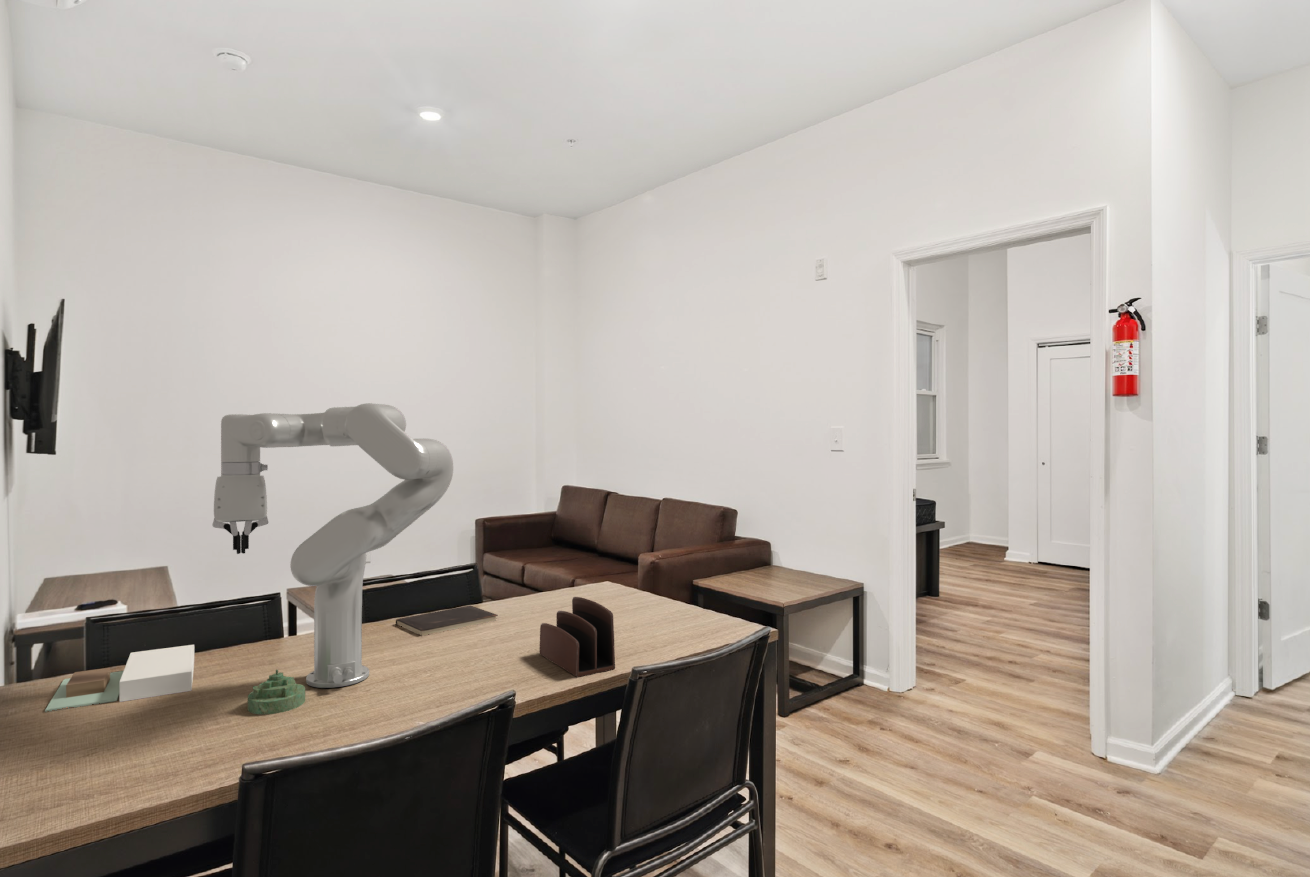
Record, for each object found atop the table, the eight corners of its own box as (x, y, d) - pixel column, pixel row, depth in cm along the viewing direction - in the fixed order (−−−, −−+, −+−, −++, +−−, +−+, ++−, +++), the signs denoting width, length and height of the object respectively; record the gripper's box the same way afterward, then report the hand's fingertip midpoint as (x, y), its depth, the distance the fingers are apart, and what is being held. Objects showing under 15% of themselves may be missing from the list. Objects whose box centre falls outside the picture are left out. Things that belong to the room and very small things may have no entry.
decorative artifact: (314, 696, 145) (266, 695, 145) (314, 662, 145) (266, 661, 145) (287, 715, 135) (236, 715, 135) (287, 679, 135) (236, 678, 135)
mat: (116, 700, 141) (116, 698, 141) (45, 712, 135) (45, 710, 135) (127, 672, 158) (127, 670, 158) (64, 681, 152) (64, 679, 152)
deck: (191, 690, 147) (191, 671, 147) (119, 702, 141) (119, 682, 141) (194, 661, 166) (194, 644, 166) (130, 670, 159) (130, 652, 159)
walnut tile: (66, 685, 142) (66, 697, 142) (103, 680, 145) (103, 692, 145) (74, 672, 149) (74, 684, 149) (110, 667, 152) (110, 679, 152)
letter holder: (575, 648, 178) (575, 592, 178) (615, 670, 161) (615, 608, 161) (538, 655, 172) (538, 597, 172) (576, 678, 156) (577, 614, 156)
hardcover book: (497, 622, 203) (497, 614, 203) (421, 638, 187) (421, 630, 187) (469, 612, 214) (469, 605, 214) (395, 626, 198) (395, 618, 198)
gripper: (277, 468, 164) (277, 547, 164) (201, 470, 156) (201, 553, 156) (280, 470, 157) (280, 552, 157) (200, 471, 149) (200, 558, 150)
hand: (240, 552), depth 157 cm, fingers closed
